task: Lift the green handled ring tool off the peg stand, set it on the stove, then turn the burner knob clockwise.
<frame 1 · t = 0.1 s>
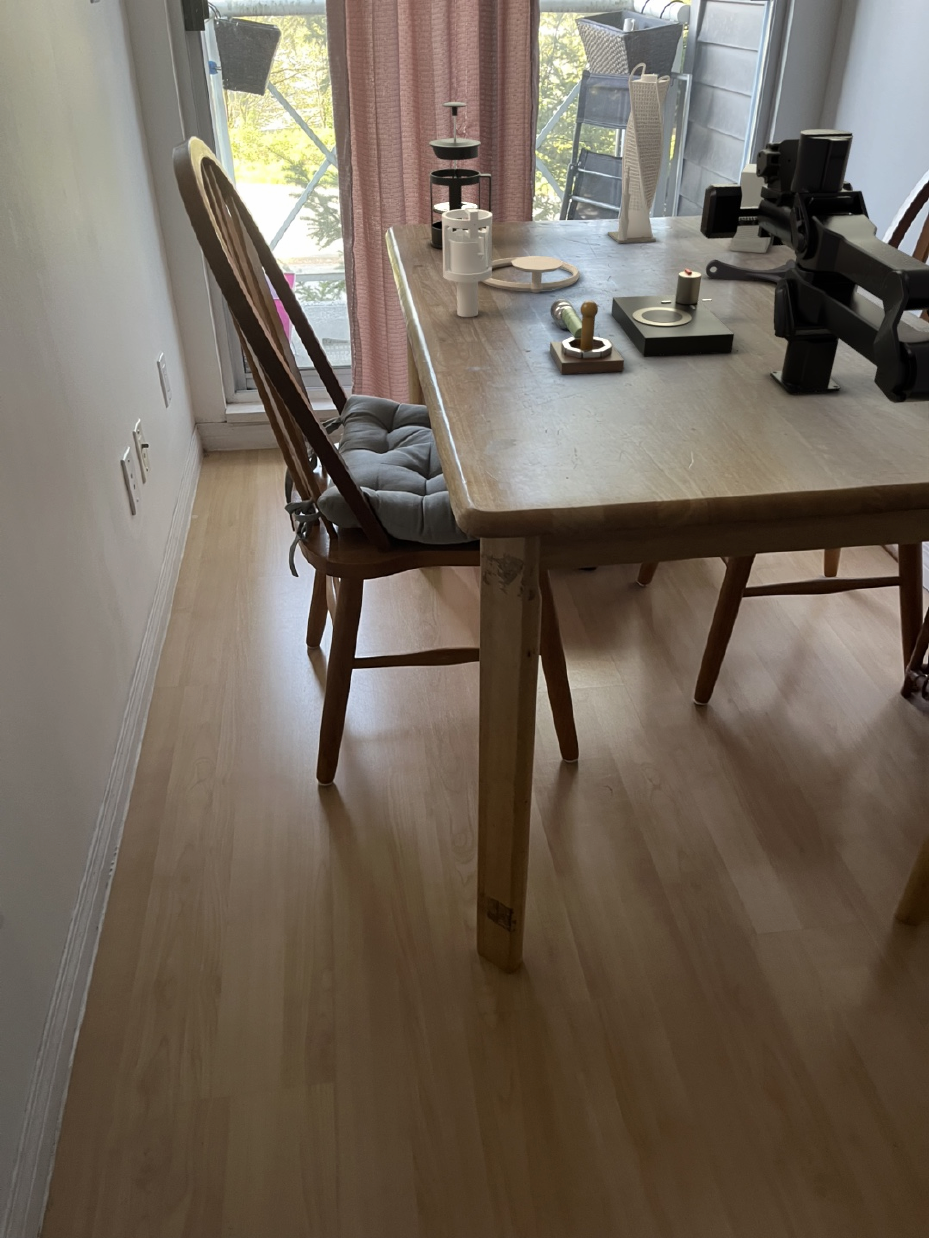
hand: (752, 196, 127), 17 cm above the table, tool horizontal, fingers open, 9 cm apart
stove: (668, 332, 132), on the table
burner: (661, 317, 130), resting on stove
peg stand: (585, 362, 123), on the table
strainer: (467, 315, 140), on the table
burner knob: (688, 286, 135), point 5 cm above the table, hinge at 0.0°
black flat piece: (751, 280, 154), on the table
hand towel holder: (529, 281, 154), on the table
french press: (458, 245, 174), on the table
small box: (749, 248, 171), on the table
skyscraper: (632, 238, 177), on the table
green handled ring tool: (570, 336, 131), on the table, touching peg stand
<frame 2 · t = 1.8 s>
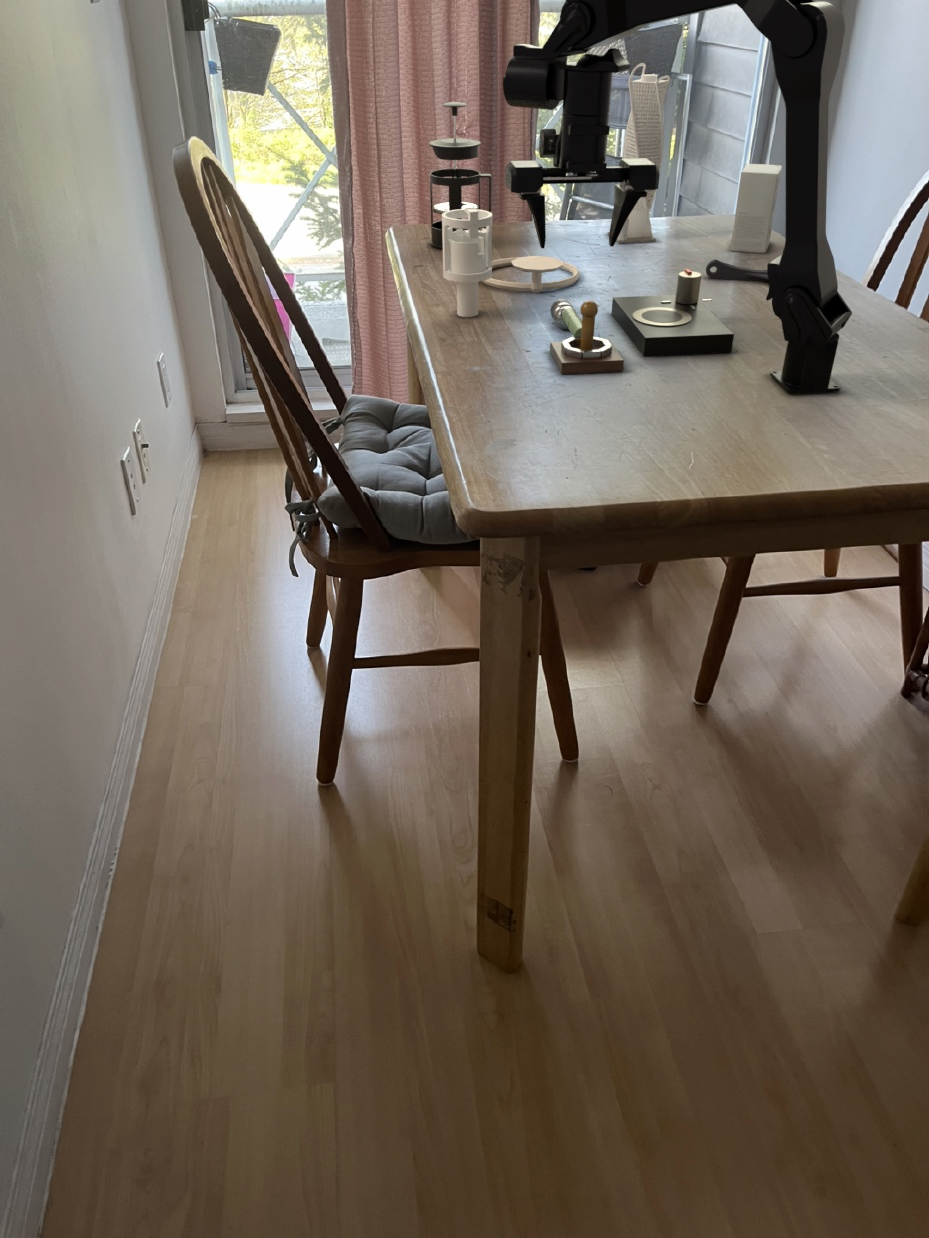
hand: (576, 246, 124), 12 cm above the table, tool pointing down, fingers open, 9 cm apart
nothing on the table moved.
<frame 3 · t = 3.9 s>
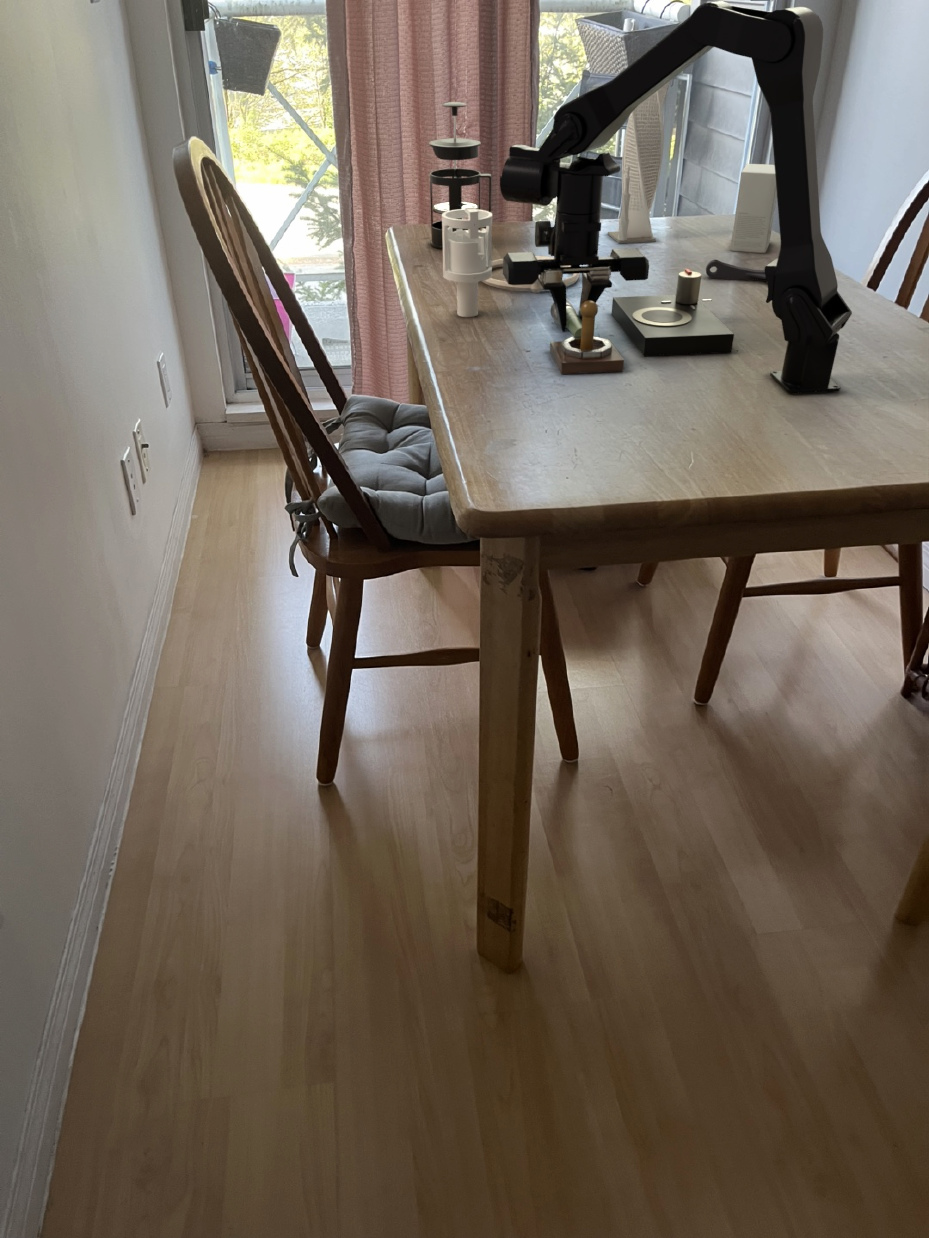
hand: (571, 330, 130), 1 cm above the table, tool pointing down, fingers closed on green handled ring tool, 2 cm apart
green handled ring tool: (570, 336, 131), on the table, touching gripper, peg stand
everything else where it was.
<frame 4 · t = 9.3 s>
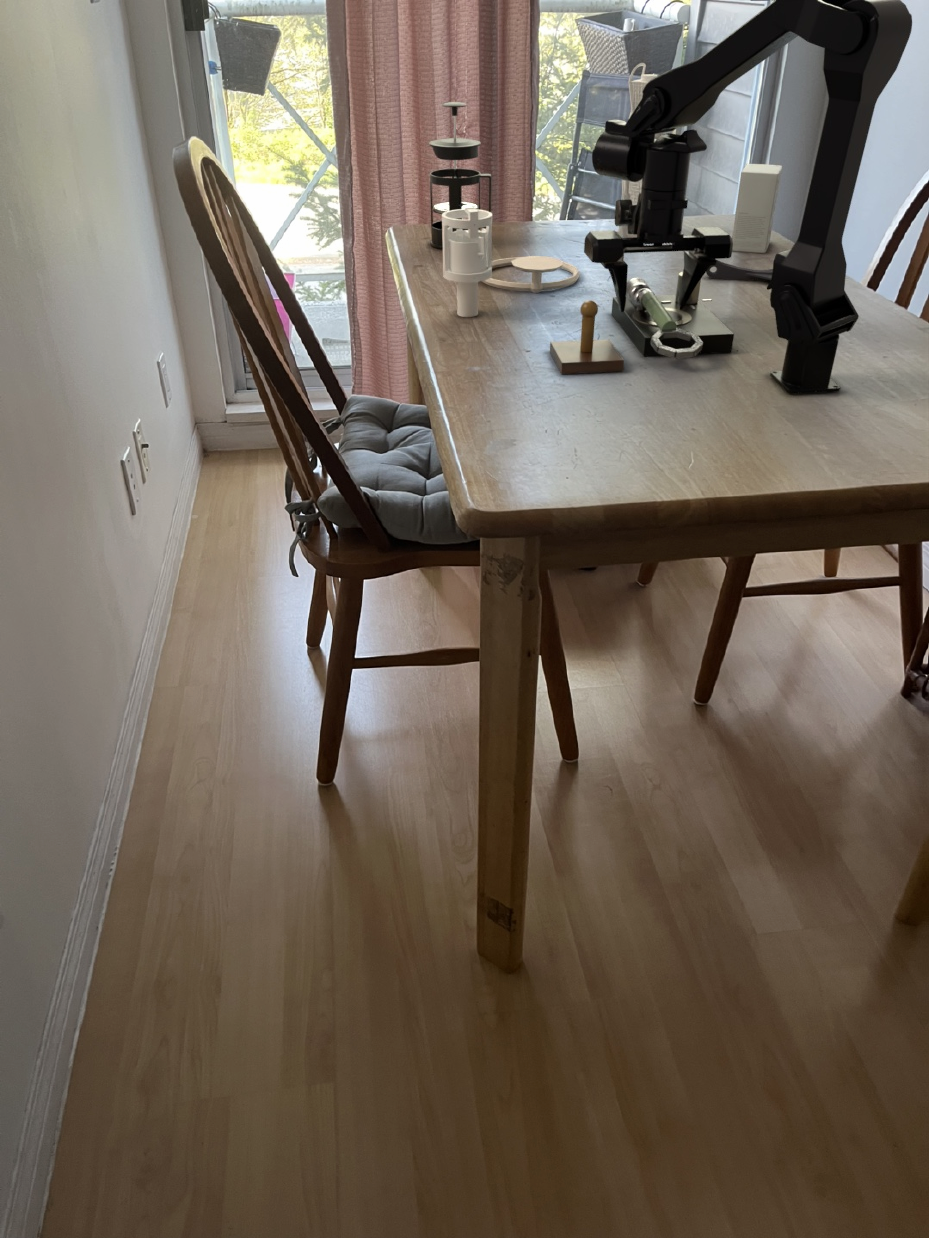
hand: (650, 310, 130), 3 cm above the table, tool pointing down, fingers open, 8 cm apart
green handled ring tool: (649, 321, 130), point 2 cm above the table, tilted 9°, touching burner, stove
everything else where it was.
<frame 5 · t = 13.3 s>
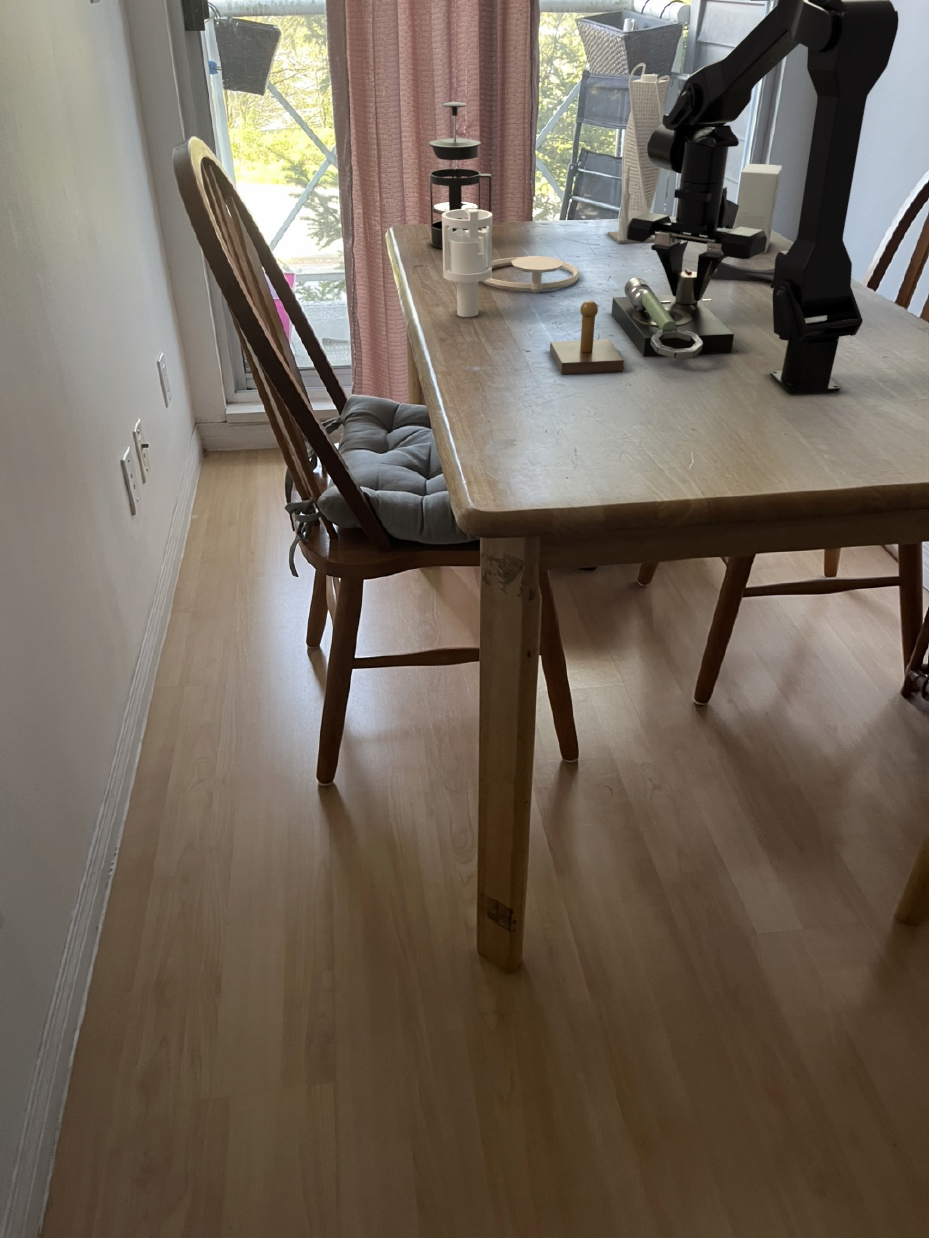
hand: (687, 298, 136), 3 cm above the table, tool pointing down, fingers closed on burner knob, 3 cm apart
burner knob: (688, 286, 135), point 5 cm above the table, hinge at 0.0°, touching gripper
everything else where it was.
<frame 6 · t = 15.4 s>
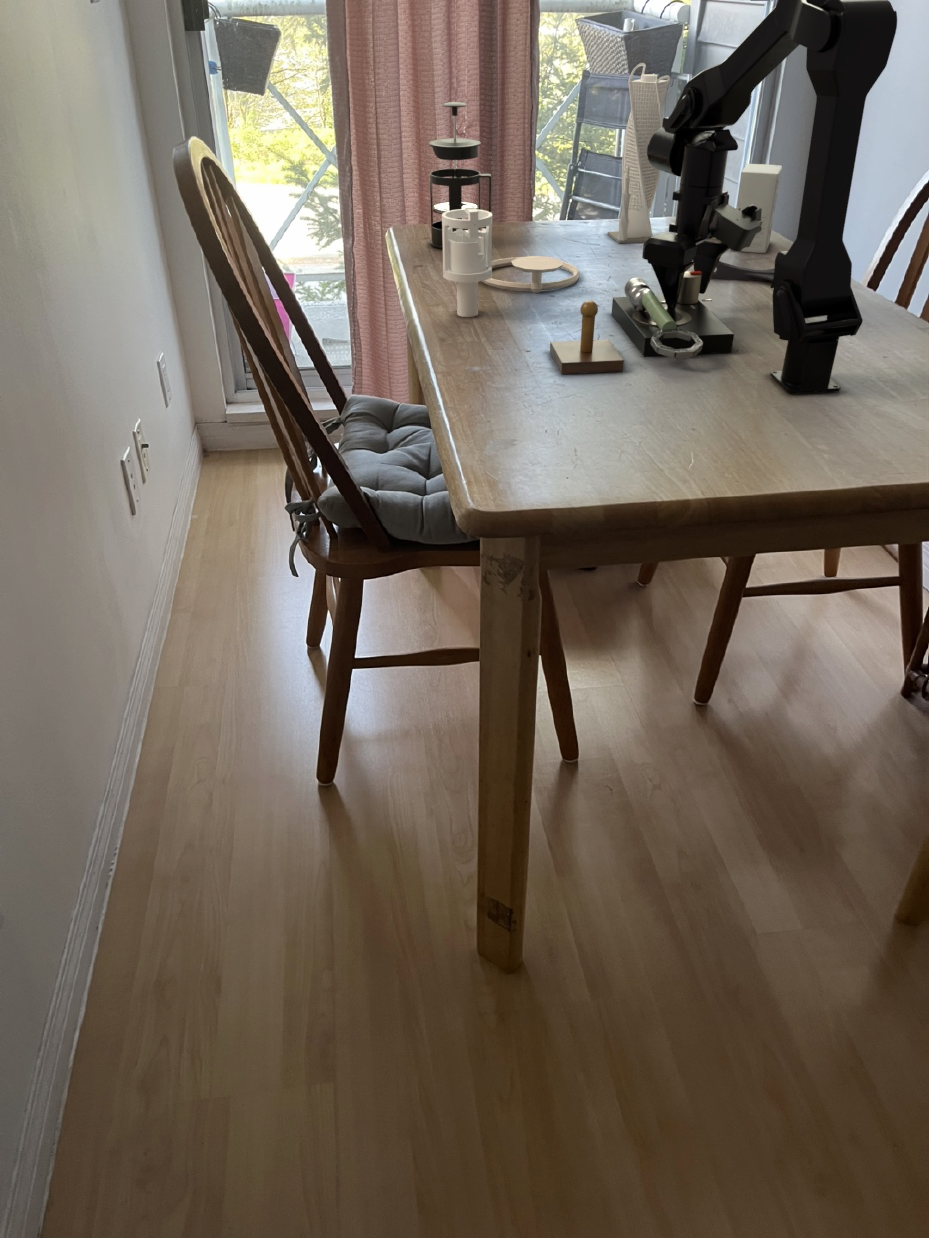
hand: (686, 300, 136), 3 cm above the table, tool pointing down, fingers open, 9 cm apart
burner knob: (688, 286, 135), point 5 cm above the table, hinge at -91.0°
everything else where it was.
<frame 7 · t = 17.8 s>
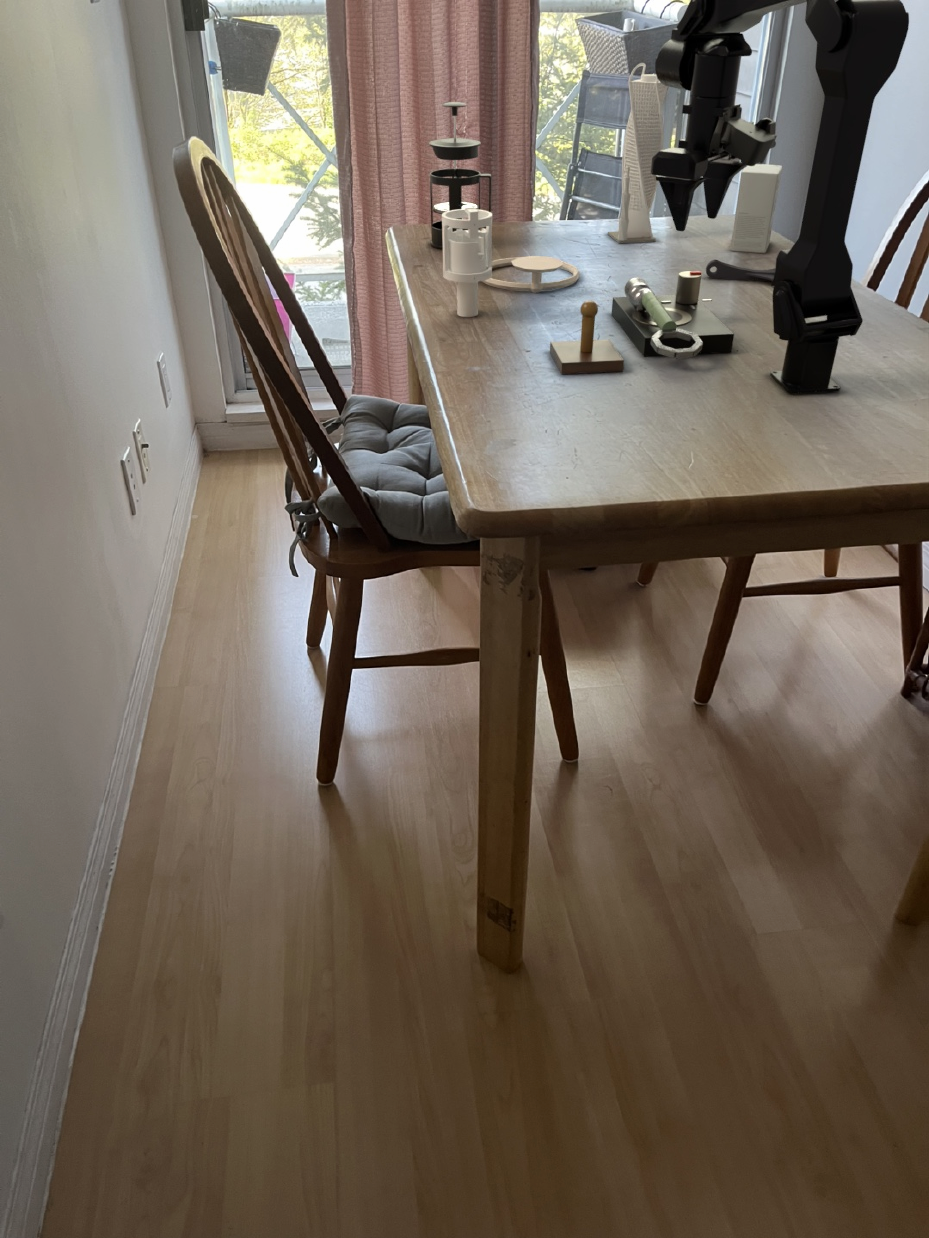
hand: (696, 224, 130), 13 cm above the table, tool pointing down, fingers open, 9 cm apart
nothing on the table moved.
at the end: green handled ring tool inside the target area on the stove (2.6 cm from its centre), point 2.2 cm above the stove's base; green handled ring tool touching burner, stove; burner knob at -91° (first picture: +0°) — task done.
